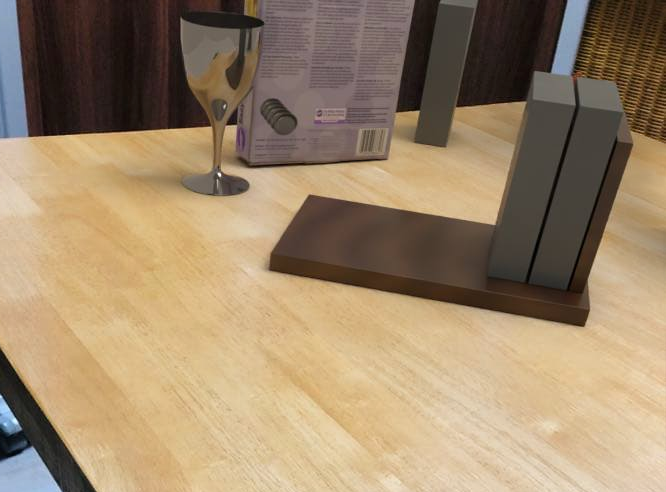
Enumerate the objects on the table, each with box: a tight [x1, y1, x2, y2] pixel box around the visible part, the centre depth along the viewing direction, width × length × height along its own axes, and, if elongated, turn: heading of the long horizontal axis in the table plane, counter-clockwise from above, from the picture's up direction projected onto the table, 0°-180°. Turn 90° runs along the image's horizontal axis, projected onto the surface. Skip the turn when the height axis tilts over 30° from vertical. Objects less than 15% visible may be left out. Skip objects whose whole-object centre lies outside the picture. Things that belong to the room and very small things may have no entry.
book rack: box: [269, 110, 634, 327], centre depth 75 cm, size 27×16×14 cm, turn 76°
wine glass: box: [179, 10, 265, 196], centre depth 86 cm, size 8×8×15 cm
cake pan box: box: [234, 0, 416, 166], centre depth 94 cm, size 19×5×18 cm, turn 113°
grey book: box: [413, 0, 479, 148], centre depth 106 cm, size 4×8×15 cm, turn 166°
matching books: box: [487, 70, 625, 290], centre depth 72 cm, size 7×10×14 cm
